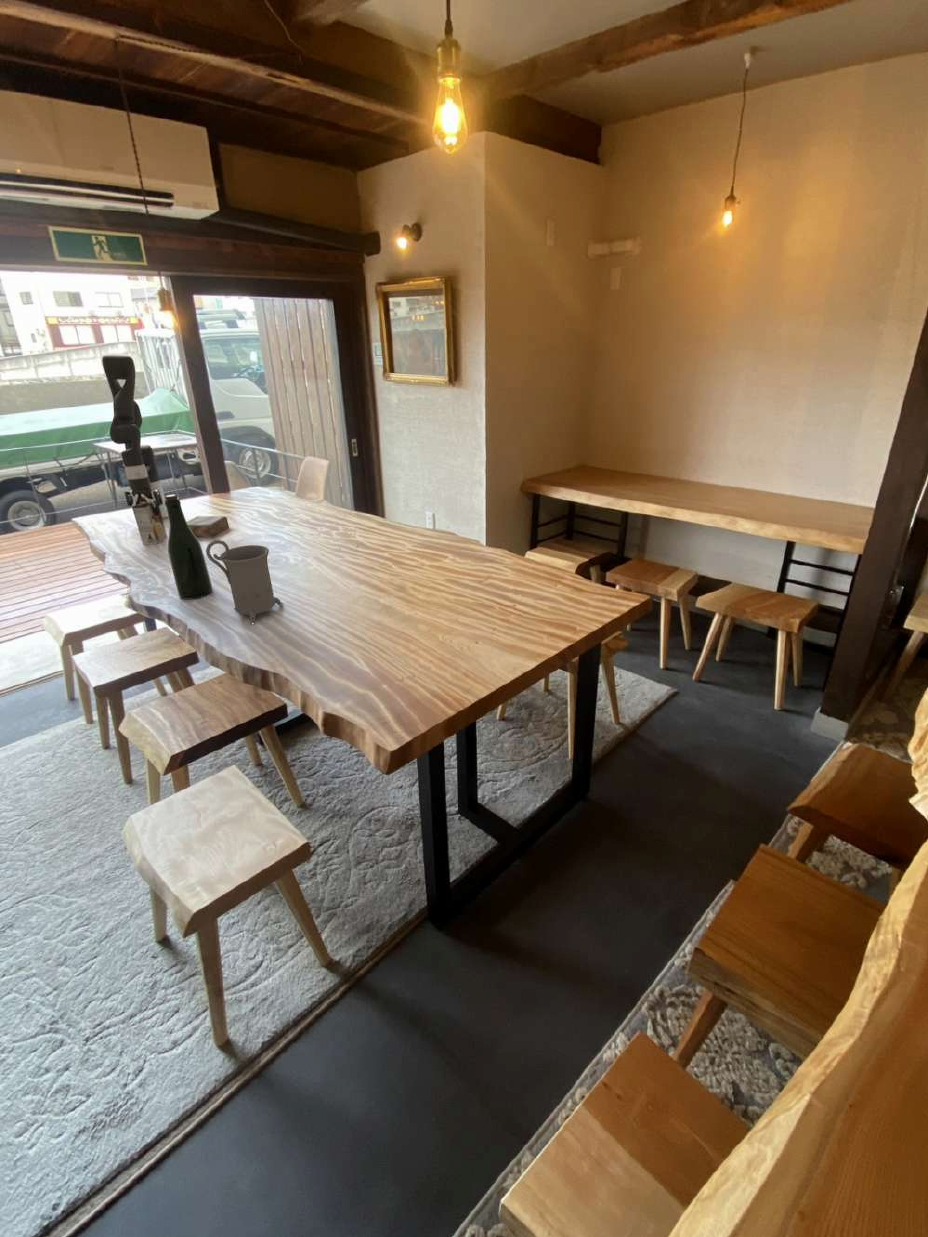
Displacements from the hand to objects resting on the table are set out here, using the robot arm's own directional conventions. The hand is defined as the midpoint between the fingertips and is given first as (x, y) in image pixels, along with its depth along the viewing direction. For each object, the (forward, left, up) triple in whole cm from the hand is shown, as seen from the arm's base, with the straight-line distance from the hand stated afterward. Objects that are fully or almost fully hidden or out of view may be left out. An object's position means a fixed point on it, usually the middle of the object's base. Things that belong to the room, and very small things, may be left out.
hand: (148, 515), depth 245 cm
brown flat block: (+17, +11, -11) cm, 23 cm away
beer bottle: (+49, -53, -11) cm, 73 cm away
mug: (+76, -67, -11) cm, 102 cm away
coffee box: (0, 0, -11) cm, 11 cm away
